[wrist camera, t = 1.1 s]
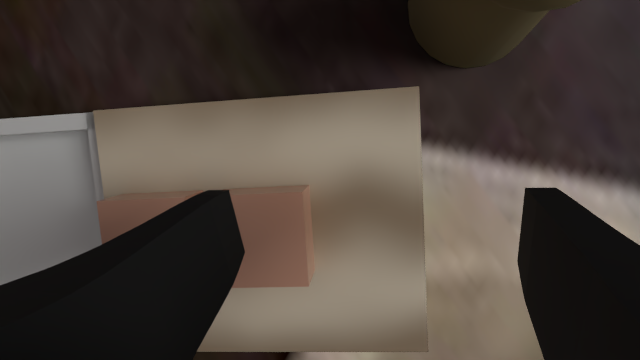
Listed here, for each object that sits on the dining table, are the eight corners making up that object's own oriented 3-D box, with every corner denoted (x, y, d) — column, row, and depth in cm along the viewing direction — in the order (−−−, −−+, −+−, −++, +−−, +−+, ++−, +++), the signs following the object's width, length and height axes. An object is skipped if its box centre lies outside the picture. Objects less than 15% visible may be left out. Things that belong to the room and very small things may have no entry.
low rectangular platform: (419, 317, 23) (428, 352, 19) (157, 319, 25) (123, 351, 21) (411, 92, 21) (418, 86, 18) (134, 112, 23) (93, 110, 20)
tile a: (315, 270, 20) (308, 286, 18) (231, 272, 20) (216, 288, 18) (309, 184, 19) (302, 191, 17) (223, 188, 20) (207, 196, 18)
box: (152, 320, 25) (128, 341, 22) (-10, 321, 26) (-49, 341, 24) (128, 113, 23) (100, 111, 21) (-42, 125, 25) (-88, 125, 22)
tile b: (211, 272, 20) (194, 288, 18) (132, 274, 21) (107, 290, 19) (203, 190, 20) (184, 197, 18) (123, 193, 20) (96, 201, 18)
